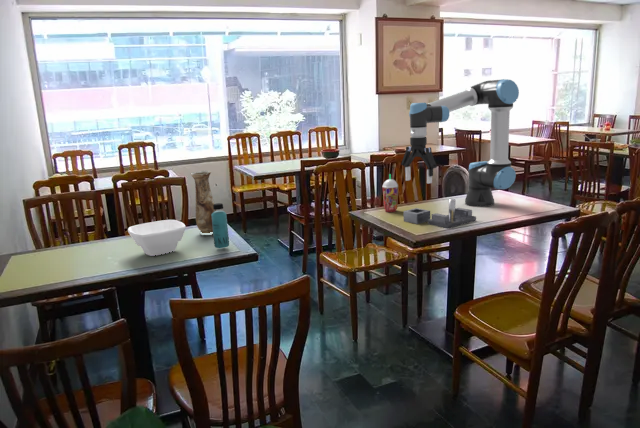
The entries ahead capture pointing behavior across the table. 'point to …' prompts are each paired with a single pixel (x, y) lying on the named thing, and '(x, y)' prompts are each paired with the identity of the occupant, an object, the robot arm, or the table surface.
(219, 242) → the beverage bottle
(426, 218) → the grey square socket block
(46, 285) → the table surface
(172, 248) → the bowl
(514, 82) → the robot arm
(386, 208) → the smoothie
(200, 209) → the vase
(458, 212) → the shaft stand
